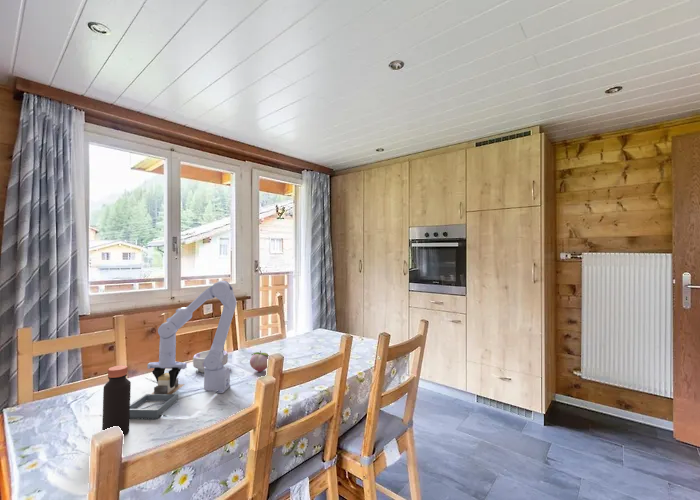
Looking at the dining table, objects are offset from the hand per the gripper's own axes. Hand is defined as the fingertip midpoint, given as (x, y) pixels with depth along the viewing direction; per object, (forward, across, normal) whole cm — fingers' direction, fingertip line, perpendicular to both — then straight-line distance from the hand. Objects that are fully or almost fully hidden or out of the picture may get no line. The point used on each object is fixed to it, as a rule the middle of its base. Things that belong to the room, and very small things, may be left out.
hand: (166, 386), depth 131 cm
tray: (+2, -3, +15) cm, 15 cm away
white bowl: (+3, -6, -27) cm, 28 cm away
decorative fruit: (+3, -30, -26) cm, 40 cm away
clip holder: (+2, 0, 0) cm, 2 cm away
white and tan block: (+1, 0, 0) cm, 1 cm away
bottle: (+3, -2, +31) cm, 31 cm away
